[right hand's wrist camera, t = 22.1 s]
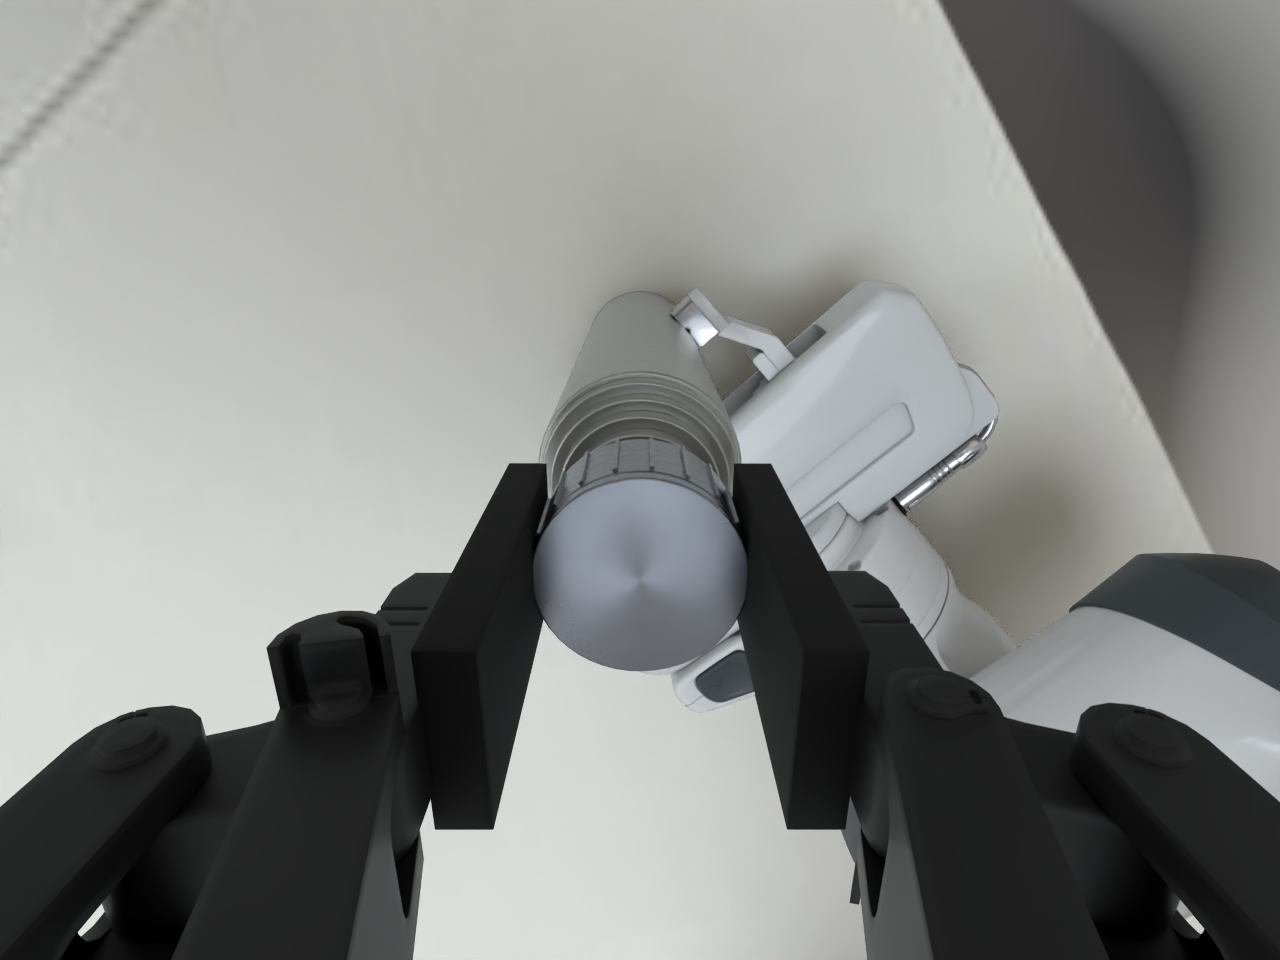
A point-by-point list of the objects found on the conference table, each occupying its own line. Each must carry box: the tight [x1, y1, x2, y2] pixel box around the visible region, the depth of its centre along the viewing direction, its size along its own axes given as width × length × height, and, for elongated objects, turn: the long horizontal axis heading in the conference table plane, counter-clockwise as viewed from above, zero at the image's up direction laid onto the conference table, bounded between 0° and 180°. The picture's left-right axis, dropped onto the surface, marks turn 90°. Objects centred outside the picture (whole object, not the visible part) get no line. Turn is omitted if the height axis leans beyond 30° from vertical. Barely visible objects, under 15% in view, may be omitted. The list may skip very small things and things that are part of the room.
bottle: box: [539, 292, 742, 499], centre depth 24 cm, size 5×5×24 cm
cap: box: [532, 438, 748, 671], centre depth 13 cm, size 4×4×2 cm
